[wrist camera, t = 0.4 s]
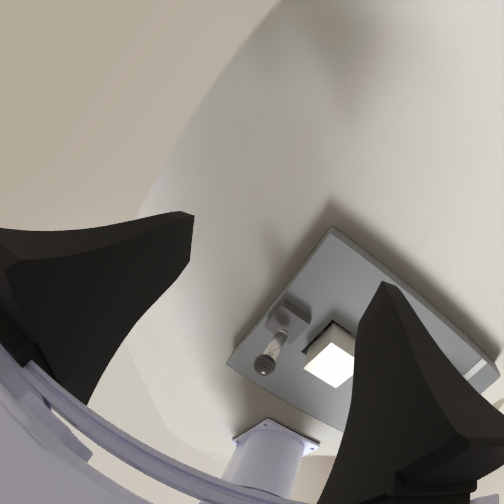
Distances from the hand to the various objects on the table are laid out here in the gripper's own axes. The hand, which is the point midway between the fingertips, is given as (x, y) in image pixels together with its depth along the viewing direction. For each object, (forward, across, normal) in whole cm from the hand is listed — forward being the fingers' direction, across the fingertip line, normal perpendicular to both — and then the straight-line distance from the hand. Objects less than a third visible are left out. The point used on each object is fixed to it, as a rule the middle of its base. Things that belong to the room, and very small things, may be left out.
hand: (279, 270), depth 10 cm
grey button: (+8, -6, +10) cm, 14 cm away
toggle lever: (+6, -1, +8) cm, 11 cm away
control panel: (+9, -10, +12) cm, 18 cm away
